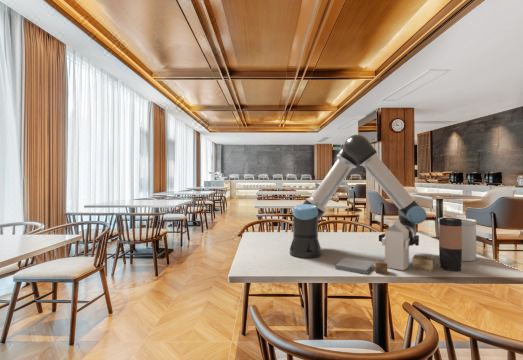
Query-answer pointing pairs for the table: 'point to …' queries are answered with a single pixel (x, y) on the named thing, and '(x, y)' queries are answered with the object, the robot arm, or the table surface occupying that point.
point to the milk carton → (396, 246)
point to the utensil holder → (468, 239)
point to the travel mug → (450, 243)
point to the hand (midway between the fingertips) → (394, 243)
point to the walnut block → (380, 267)
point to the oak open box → (423, 263)
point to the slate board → (355, 266)
